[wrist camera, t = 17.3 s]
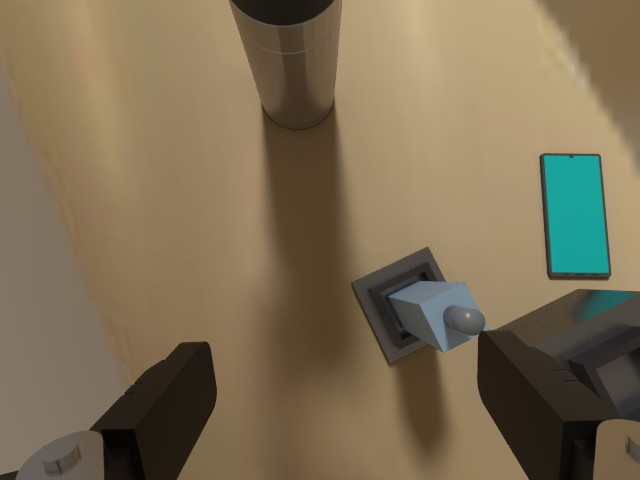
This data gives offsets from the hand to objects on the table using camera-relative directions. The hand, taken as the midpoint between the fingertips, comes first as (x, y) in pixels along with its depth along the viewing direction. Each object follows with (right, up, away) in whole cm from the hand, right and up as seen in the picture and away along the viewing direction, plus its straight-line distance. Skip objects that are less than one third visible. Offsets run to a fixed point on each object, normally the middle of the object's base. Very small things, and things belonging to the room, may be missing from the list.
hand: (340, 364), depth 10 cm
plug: (+10, -4, +29) cm, 31 cm away
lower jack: (+10, -4, +29) cm, 31 cm away
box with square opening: (+27, -10, +29) cm, 41 cm away
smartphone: (+30, +7, +31) cm, 44 cm away
